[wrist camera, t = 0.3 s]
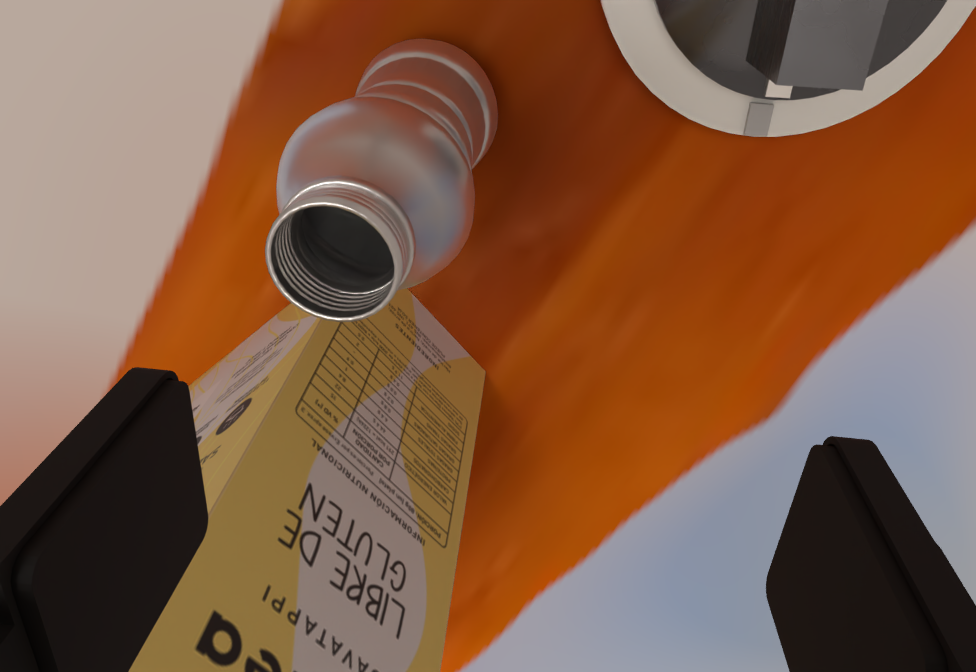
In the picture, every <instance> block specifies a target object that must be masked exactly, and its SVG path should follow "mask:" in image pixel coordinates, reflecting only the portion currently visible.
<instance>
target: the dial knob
mask: <svg viewBox="0 0 976 672" xmlns="http://www.w3.org/2000/svg"><path fill="white" fill-rule="evenodd" d="M653 1H654V4H655V7H656V10H657V13H658V15H659V17H660V20H661V22H662V24H663V26H664V28H665V30H666V31H667V33H668V35H669V36H670V38H671V39H672V41H673V42H674V44H675V45H676V46H677V48H678V49H679V50H680V51H681V52H682V53H683V54H684V56H685V57H686V58H687V59H688V60H689V61H690V62H691V64H692V65H694V66H695V67H696V68H697V69H698V70H699V71H701V72H702V73H703V74H704V75H705V76H707V77H708V78H710V79H711V80H713V81H715V82H716V83H718V84H719V85H721V86H723V87H726V88H728V89H730V90H732V91H735V92H737V93H740V94H744V95H747V96H751V97H754V98H761V99H768V100H799V99H807V98H814V97H818V96H821V95H825V94H829V93H833V92H836V91H838V90H841V89H845V90H860V91H863V88H864V84H865V81H866V78H867V77H869V76H871V75H872V74H874V73H875V72H877V71H878V70H880V69H881V68H883V67H885V66H886V65H888V64H889V63H890V62H892V61H893V60H894V59H895V58H897V57H898V56H899V55H900V54H901V53H903V52H904V51H905V50H906V49H907V48H908V47H909V46H910V45H911V44H912V43H913V42H914V41H915V40H916V39H917V38H918V37H919V36H920V35H921V34H922V33H923V32H924V31H925V30H926V29H927V27H928V26H929V25H930V24H931V23H932V21H933V20H934V19H935V18H936V16H937V15H938V14H939V12H940V11H941V9H942V8H943V6H944V5H945V3H946V2H947V0H653Z"/></svg>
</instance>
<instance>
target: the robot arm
mask: <svg viewBox="0 0 976 672" xmlns="http://www.w3.org/2000/svg"><path fill="white" fill-rule="evenodd" d="M207 527H208V510H207V503H206V496H205V490H204V483H203V477H202V470H201V464H200V457H199V450H198V444H197V437H196V431H195V424H194V418H193V411H192V404H191V398H190V391H189V387H188V385H187V383H185V382H183V381H179V380H178V377H177V375H176V374H175V373H174V372H173V371H168V370H158V369H148V368H138V367H137V368H132V369H131V370H129V371H128V372H127V373H126V374H125V375H124V376H123V377H122V378H121V379H120V381H119V382H118V383H117V384H116V385H115V386H114V387H113V388H112V389H111V390H110V391H109V392H108V393H107V394H106V395H105V396H104V397H103V398H102V400H101V401H100V402H99V403H98V404H97V405H96V406H95V407H94V408H93V409H92V410H91V411H90V412H89V413H88V414H87V415H86V416H85V417H84V419H83V420H82V421H81V422H80V423H79V424H78V425H77V426H76V427H75V428H74V429H73V430H72V431H71V432H70V434H69V435H67V437H66V438H65V439H64V440H63V441H62V442H61V443H60V444H59V445H58V446H57V447H56V448H55V449H54V450H53V451H52V452H51V454H49V455H48V457H47V458H46V459H45V460H44V461H43V462H42V463H41V464H40V465H39V466H38V467H37V468H36V469H35V470H34V471H33V472H32V473H31V475H30V476H29V477H28V478H27V479H26V480H25V481H24V482H23V483H22V484H21V485H20V486H19V487H18V488H17V489H16V490H15V491H14V493H12V495H11V496H10V497H9V498H8V499H7V500H6V501H5V502H4V503H3V504H2V505H1V506H0V672H129V670H130V668H131V666H132V664H133V663H134V661H135V659H136V657H137V656H138V654H139V652H140V650H141V649H142V647H143V645H144V643H145V642H146V640H147V638H148V636H149V635H150V633H151V631H152V629H153V628H154V626H155V624H156V622H157V621H158V619H159V617H160V615H161V613H162V612H163V610H164V608H165V606H166V605H167V603H168V601H169V599H170V598H171V596H172V594H173V592H174V591H175V589H176V587H177V585H178V584H179V582H180V580H181V578H182V577H183V575H184V573H185V571H186V570H187V568H188V566H189V564H190V562H191V561H192V559H193V557H194V555H195V554H196V552H197V550H198V548H199V547H200V545H201V543H202V541H203V539H204V537H205V534H206V531H207ZM766 594H767V600H768V603H769V606H770V610H771V613H772V616H773V619H774V623H775V626H776V629H777V632H778V636H779V639H780V642H781V645H782V648H783V652H784V655H785V658H786V661H787V665H788V668H789V671H790V672H976V605H975V604H974V602H973V600H972V599H971V597H970V596H969V594H968V592H967V591H966V589H965V587H964V586H963V584H962V582H961V581H960V579H959V578H958V576H957V574H956V573H955V571H954V569H953V568H952V566H951V564H950V563H949V561H948V560H947V558H946V556H945V555H944V553H943V552H942V550H941V549H940V547H939V546H938V545H937V544H936V542H935V541H934V540H933V538H932V536H931V535H930V533H929V532H928V530H927V529H926V527H925V525H924V523H923V522H922V520H921V519H920V517H919V515H918V513H917V512H916V510H915V509H914V507H913V506H912V504H911V502H910V500H909V499H908V497H907V495H906V494H905V492H904V490H903V489H902V487H901V486H900V484H899V482H898V481H897V479H896V477H895V476H894V474H893V473H892V471H891V469H890V468H889V466H888V464H887V463H886V461H885V459H884V458H883V456H882V454H881V453H880V451H879V449H878V448H877V446H876V445H875V444H874V443H873V442H872V441H870V440H864V439H854V438H843V437H834V436H831V437H828V438H827V439H826V440H825V441H824V443H823V445H814V446H813V447H812V448H811V450H810V452H809V455H808V458H807V461H806V464H805V467H804V469H803V472H802V475H801V478H800V481H799V484H798V487H797V490H796V493H795V496H794V499H793V502H792V505H791V507H790V510H789V514H788V516H787V519H786V522H785V525H784V528H783V531H782V534H781V537H780V540H779V542H778V545H777V548H776V551H775V554H774V557H773V560H772V563H771V566H770V569H769V572H768V575H767V581H766Z"/></svg>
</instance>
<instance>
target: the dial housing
mask: <svg viewBox="0 0 976 672" xmlns="http://www.w3.org/2000/svg"><path fill="white" fill-rule="evenodd" d="M600 2H601V5H602V8H603V11H604V14H605V17H606V20H607V23H608V25H609V28H610V30H611V32H612V34H613V36H614V38H615V40H616V42H617V44H618V46H619V48H620V50H621V53H622V55H623V56H624V58H625V59H626V61H627V62H628V64H629V65H630V67H631V68H632V70H633V71H634V73H635V74H636V75H637V77H638V78H639V79H640V80H641V81H642V82H643V83H644V84H645V85H646V87H647V88H648V89H649V90H650V91H651V92H652V93H653V94H654V95H656V96H657V97H658V98H659V99H660V100H662V101H663V102H664V103H665V104H666V105H668V106H669V107H670V108H672V109H673V110H675V111H677V112H678V113H680V114H682V115H683V116H685V117H687V118H688V119H690V120H693V121H695V122H697V123H700V124H702V125H704V126H707V127H709V128H713V129H716V130H720V131H723V132H727V133H731V134H738V135H745V136H753V137H779V136H787V135H795V134H802V133H806V132H810V131H814V130H819V129H823V128H826V127H829V126H832V125H834V124H837V123H840V122H842V121H845V120H848V119H850V118H852V117H854V116H856V115H858V114H860V113H862V112H864V111H866V110H868V109H870V108H872V107H874V106H876V105H877V104H879V103H880V102H882V101H883V100H885V99H887V98H888V97H890V96H891V95H893V94H894V93H896V92H897V91H899V90H900V89H901V88H902V87H904V86H905V85H906V84H907V83H909V82H910V81H911V80H912V79H914V78H915V77H916V76H917V75H919V74H920V73H921V72H922V71H923V70H924V69H925V68H926V67H927V66H928V65H929V64H930V63H931V62H932V61H933V60H934V59H935V58H936V57H937V56H938V55H939V54H940V53H941V52H942V50H943V49H944V48H945V47H946V46H947V44H948V43H949V42H950V41H951V40H952V38H953V37H954V36H955V35H956V34H957V32H958V31H959V30H960V28H961V27H962V25H963V24H964V22H965V21H966V19H967V18H968V16H969V15H970V13H971V12H972V10H973V9H974V7H975V6H976V0H947V2H946V3H945V5H944V6H943V8H942V9H941V11H940V12H939V14H938V15H937V16H936V18H935V19H934V20H933V21H932V23H931V24H930V25H929V26H928V27H927V29H926V30H925V31H924V32H923V33H922V34H921V35H920V36H919V37H918V38H917V39H916V40H915V41H914V42H913V43H912V44H911V45H910V46H909V47H908V48H907V49H906V50H905V51H904V52H903V53H901V54H900V55H899V56H898V57H897V58H895V59H894V60H893V61H892V62H890V63H889V64H888V65H886V66H885V67H883V68H881V69H880V70H878V71H877V72H875V73H874V74H872V75H871V76H869V77H867V78H866V81H865V84H864V88H863V91H860V90H845V89H841V90H838V91H836V92H833V93H829V94H825V95H821V96H818V97H814V98H807V99H799V100H768V99H761V98H754V97H751V96H747V95H744V94H740V93H737V92H735V91H732V90H730V89H728V88H726V87H723V86H721V85H719V84H718V83H716V82H715V81H713V80H711V79H710V78H708V77H707V76H705V75H704V74H703V73H702V72H701V71H699V70H698V69H697V68H696V67H695V66H694V65H692V64H691V62H690V61H689V60H688V59H687V58H686V57H685V56H684V54H683V53H682V52H681V51H680V50H679V49H678V48H677V46H676V45H675V44H674V42H673V41H672V39H671V38H670V36H669V35H668V33H667V31H666V30H665V28H664V26H663V24H662V22H661V20H660V17H659V15H658V13H657V10H656V7H655V4H654V1H653V0H600Z"/></svg>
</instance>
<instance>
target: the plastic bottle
mask: <svg viewBox="0 0 976 672" xmlns="http://www.w3.org/2000/svg"><path fill="white" fill-rule="evenodd" d="M497 123H498V107H497V100H496V97H495V93H494V90H493V87H492V85H491V83H490V81H489V79H488V78H487V76H486V74H485V72H484V71H483V69H482V68H481V67H480V66H479V64H478V63H477V62H476V61H475V60H474V59H473V58H472V57H471V56H469V55H468V54H467V53H466V52H465V51H463V50H461V49H459V48H458V47H456V46H454V45H452V44H449V43H446V42H443V41H439V40H431V39H410V40H406V41H402V42H399V43H395V44H393V45H392V46H390V47H388V48H386V49H384V50H383V51H382V52H381V53H379V54H378V55H377V56H376V57H375V58H374V59H373V60H372V61H371V62H370V64H369V65H368V67H367V68H366V69H365V71H364V73H363V76H362V78H361V80H360V82H359V85H358V88H357V90H356V95H355V97H353V98H350V99H346V100H343V101H339V102H336V103H334V104H332V105H330V106H328V107H326V108H324V109H323V110H321V111H319V112H317V113H316V114H314V115H312V116H311V117H309V118H308V119H307V120H306V121H305V122H304V123H303V124H302V125H300V126H299V127H298V128H297V129H296V131H295V132H294V133H293V135H292V136H291V138H290V139H289V141H288V142H287V144H286V146H285V149H284V151H283V154H282V156H281V159H280V163H279V169H278V175H277V186H276V190H277V206H278V210H279V213H280V215H279V216H278V218H277V219H276V220H275V222H274V223H273V225H272V227H271V229H270V232H269V234H268V237H267V241H266V247H265V255H266V263H267V267H268V270H269V274H270V276H271V278H272V280H273V282H274V284H275V285H276V286H277V288H278V289H279V290H280V292H281V293H282V294H283V295H284V296H285V297H286V298H287V299H288V300H289V301H290V302H291V303H292V304H293V305H295V306H296V307H298V308H299V309H301V310H302V311H304V312H306V313H308V314H310V315H312V316H314V317H317V318H320V319H324V320H327V321H335V322H353V321H358V320H362V319H365V318H367V317H370V316H372V315H374V314H376V313H377V312H378V311H380V310H381V309H383V308H384V307H385V306H386V305H387V304H388V303H389V302H390V300H391V299H392V298H393V297H394V295H395V293H396V291H397V290H402V289H406V288H410V287H413V286H415V285H418V284H420V283H422V282H425V281H427V280H428V279H430V278H431V277H432V276H434V275H435V274H437V273H438V272H440V271H441V270H442V269H444V268H445V267H447V266H448V265H449V264H450V263H451V262H452V261H453V260H454V258H455V257H456V256H457V255H458V254H459V253H460V251H461V250H462V248H463V246H464V244H465V243H466V241H467V239H468V237H469V233H470V230H471V227H472V223H473V217H474V205H475V190H474V182H473V176H472V169H473V168H474V167H475V166H476V165H477V164H478V162H479V161H480V160H481V159H482V158H483V157H484V155H485V154H486V153H487V151H488V150H489V148H490V146H491V144H492V142H493V140H494V137H495V133H496V130H497Z"/></svg>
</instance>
